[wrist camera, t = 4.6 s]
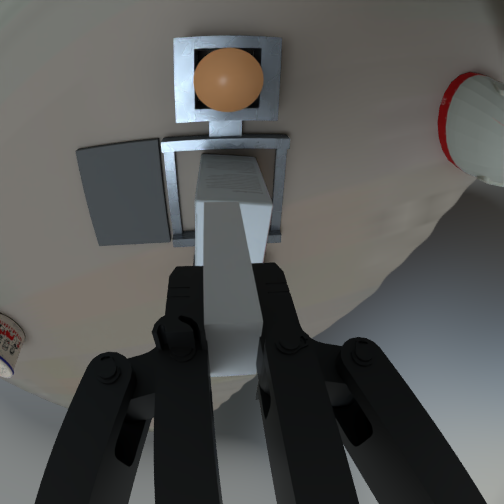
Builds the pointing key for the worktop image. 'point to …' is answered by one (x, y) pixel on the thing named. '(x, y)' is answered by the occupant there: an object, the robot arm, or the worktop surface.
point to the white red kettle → (474, 126)
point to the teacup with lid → (9, 345)
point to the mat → (125, 192)
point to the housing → (225, 120)
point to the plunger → (228, 79)
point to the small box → (234, 199)
